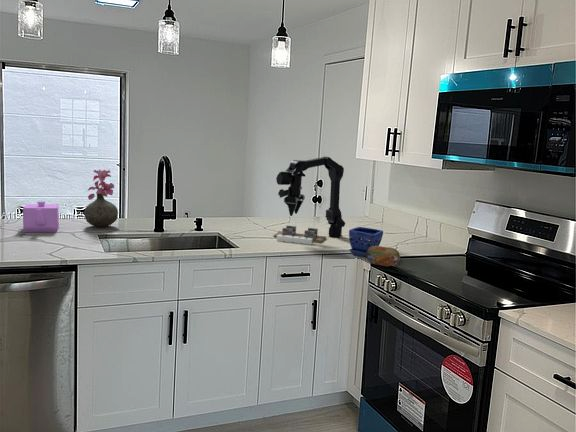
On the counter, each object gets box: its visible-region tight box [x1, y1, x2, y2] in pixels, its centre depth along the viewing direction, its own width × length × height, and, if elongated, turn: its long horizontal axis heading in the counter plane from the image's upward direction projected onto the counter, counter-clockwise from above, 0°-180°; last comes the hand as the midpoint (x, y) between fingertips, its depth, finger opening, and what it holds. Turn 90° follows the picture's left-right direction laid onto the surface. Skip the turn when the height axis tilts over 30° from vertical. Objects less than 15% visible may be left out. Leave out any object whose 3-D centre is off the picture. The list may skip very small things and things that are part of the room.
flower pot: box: [348, 226, 384, 257], centre depth 258 cm, size 13×13×12 cm
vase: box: [84, 169, 119, 229], centre depth 281 cm, size 17×17×30 cm
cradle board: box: [272, 225, 327, 243], centre depth 288 cm, size 26×12×5 cm, turn 76°
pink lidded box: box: [22, 200, 60, 233], centre depth 267 cm, size 15×25×14 cm, turn 20°
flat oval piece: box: [365, 245, 401, 268], centre depth 240 cm, size 15×3×8 cm, turn 62°
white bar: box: [276, 235, 313, 245], centre depth 276 cm, size 18×4×3 cm, turn 76°
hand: (293, 214), depth 280 cm, fingers open, 9 cm apart
